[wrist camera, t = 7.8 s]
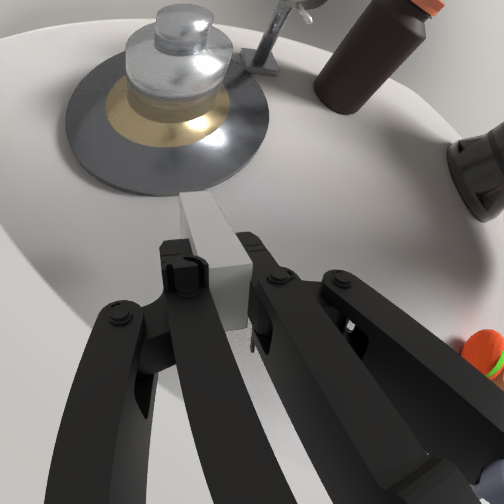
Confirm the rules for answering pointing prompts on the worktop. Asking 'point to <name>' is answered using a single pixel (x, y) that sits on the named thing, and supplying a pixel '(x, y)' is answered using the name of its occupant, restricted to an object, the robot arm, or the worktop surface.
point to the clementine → (485, 352)
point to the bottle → (373, 51)
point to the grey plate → (164, 134)
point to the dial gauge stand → (274, 37)
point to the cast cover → (176, 65)
